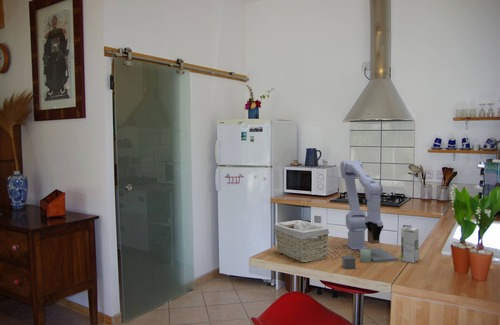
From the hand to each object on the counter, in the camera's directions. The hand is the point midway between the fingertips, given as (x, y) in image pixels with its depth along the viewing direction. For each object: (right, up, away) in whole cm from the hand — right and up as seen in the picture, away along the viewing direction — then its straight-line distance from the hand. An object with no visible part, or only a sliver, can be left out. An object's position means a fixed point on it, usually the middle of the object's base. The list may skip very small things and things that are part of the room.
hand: (374, 239), depth 180 cm
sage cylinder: (-5, -9, -5) cm, 12 cm away
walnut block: (0, -2, 0) cm, 2 cm away
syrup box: (+14, -8, -7) cm, 17 cm away
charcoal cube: (-15, -9, -13) cm, 22 cm away
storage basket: (-32, -9, +7) cm, 34 cm away
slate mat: (+2, -8, +2) cm, 9 cm away
